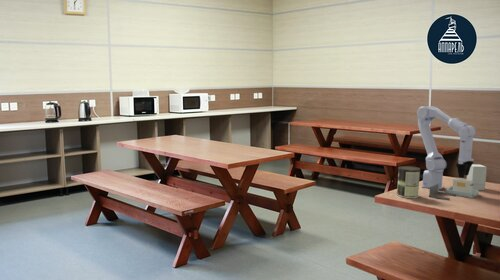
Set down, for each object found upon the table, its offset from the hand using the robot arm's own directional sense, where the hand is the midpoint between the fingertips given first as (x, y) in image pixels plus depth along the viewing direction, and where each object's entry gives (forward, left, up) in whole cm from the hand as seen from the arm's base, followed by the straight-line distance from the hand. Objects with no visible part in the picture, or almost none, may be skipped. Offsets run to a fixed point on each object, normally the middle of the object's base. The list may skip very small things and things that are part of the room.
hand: (463, 176), depth 249 cm
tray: (0, 0, -9) cm, 9 cm away
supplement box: (+2, +19, -10) cm, 21 cm away
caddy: (0, 0, -9) cm, 9 cm away
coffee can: (-19, -23, -10) cm, 32 cm away
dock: (-5, -12, -9) cm, 16 cm away
